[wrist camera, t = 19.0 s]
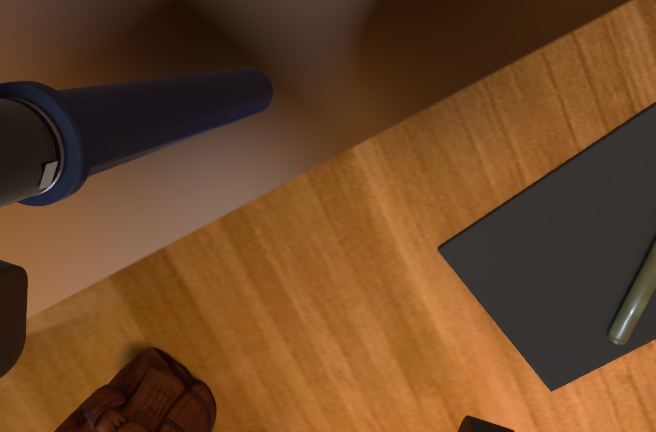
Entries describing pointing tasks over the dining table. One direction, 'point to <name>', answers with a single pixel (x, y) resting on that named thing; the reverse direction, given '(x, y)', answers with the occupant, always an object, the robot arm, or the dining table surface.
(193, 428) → the wooden figurine
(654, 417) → the dining table surface
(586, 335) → the mat
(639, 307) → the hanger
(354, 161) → the dining table surface
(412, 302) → the dining table surface
